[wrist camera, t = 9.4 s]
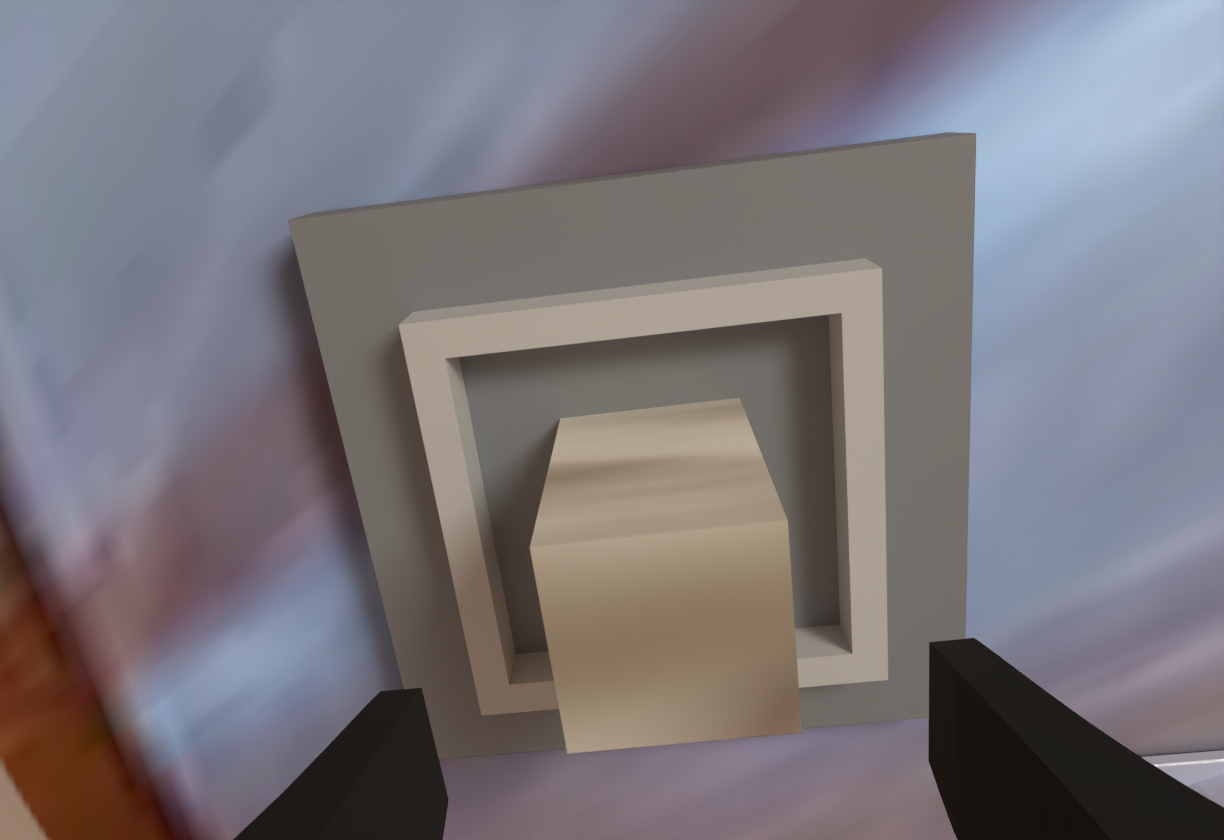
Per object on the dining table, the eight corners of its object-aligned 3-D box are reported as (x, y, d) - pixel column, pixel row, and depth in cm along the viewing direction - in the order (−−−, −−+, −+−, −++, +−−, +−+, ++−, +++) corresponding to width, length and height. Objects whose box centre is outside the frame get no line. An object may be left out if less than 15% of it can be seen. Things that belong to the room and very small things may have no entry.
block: (752, 557, 20) (801, 732, 14) (585, 575, 20) (567, 753, 14) (739, 397, 18) (787, 520, 13) (560, 418, 19) (529, 547, 13)
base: (942, 677, 23) (982, 748, 20) (434, 722, 23) (410, 795, 21) (948, 132, 18) (1001, 134, 15) (314, 213, 19) (264, 227, 16)
